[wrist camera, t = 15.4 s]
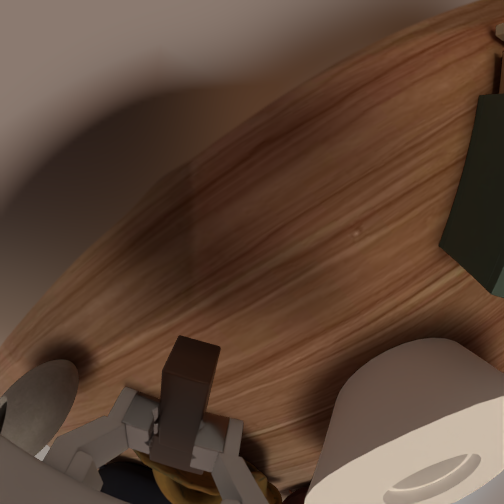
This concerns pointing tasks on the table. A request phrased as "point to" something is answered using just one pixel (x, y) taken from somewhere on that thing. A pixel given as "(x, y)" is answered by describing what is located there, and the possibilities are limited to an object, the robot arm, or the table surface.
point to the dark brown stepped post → (184, 401)
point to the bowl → (413, 428)
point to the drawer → (503, 33)
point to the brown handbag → (297, 496)
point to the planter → (38, 404)
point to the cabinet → (481, 201)
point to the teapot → (131, 484)
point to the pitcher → (199, 484)
